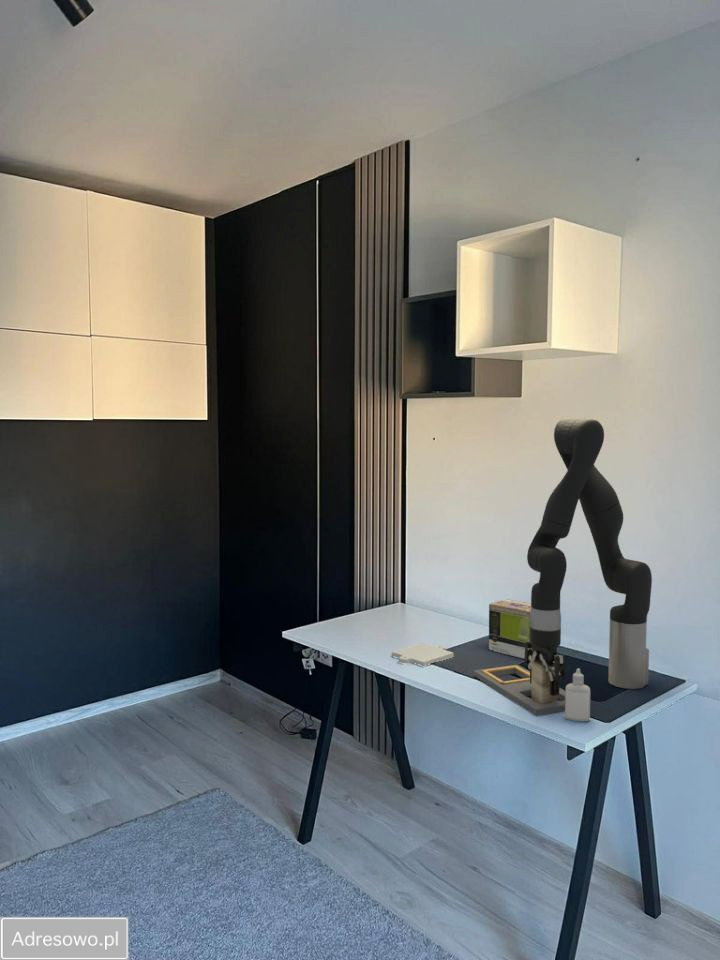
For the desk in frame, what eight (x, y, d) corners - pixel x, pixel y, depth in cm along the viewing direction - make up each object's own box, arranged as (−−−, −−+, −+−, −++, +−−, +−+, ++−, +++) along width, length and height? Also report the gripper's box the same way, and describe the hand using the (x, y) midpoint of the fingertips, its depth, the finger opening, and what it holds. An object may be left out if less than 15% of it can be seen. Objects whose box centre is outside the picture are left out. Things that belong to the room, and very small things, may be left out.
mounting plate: (417, 670, 211) (417, 664, 211) (385, 660, 220) (385, 653, 220) (459, 657, 223) (459, 650, 223) (427, 647, 232) (427, 641, 232)
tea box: (548, 654, 224) (549, 605, 223) (529, 661, 217) (530, 611, 216) (506, 643, 235) (507, 597, 234) (487, 650, 228) (487, 602, 227)
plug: (546, 697, 189) (547, 658, 188) (557, 703, 185) (557, 664, 184) (531, 699, 187) (531, 660, 187) (541, 706, 183) (542, 666, 182)
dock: (517, 669, 210) (517, 663, 210) (585, 707, 182) (585, 700, 182) (473, 675, 205) (473, 669, 205) (536, 715, 177) (536, 707, 177)
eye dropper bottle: (582, 724, 172) (583, 674, 171) (561, 717, 176) (562, 668, 175) (593, 719, 175) (594, 669, 174) (572, 712, 179) (573, 664, 178)
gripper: (575, 631, 179) (574, 697, 180) (541, 617, 192) (540, 678, 194) (549, 634, 177) (548, 701, 178) (516, 619, 190) (515, 681, 191)
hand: (544, 689), depth 186 cm, fingers open, 8 cm apart
